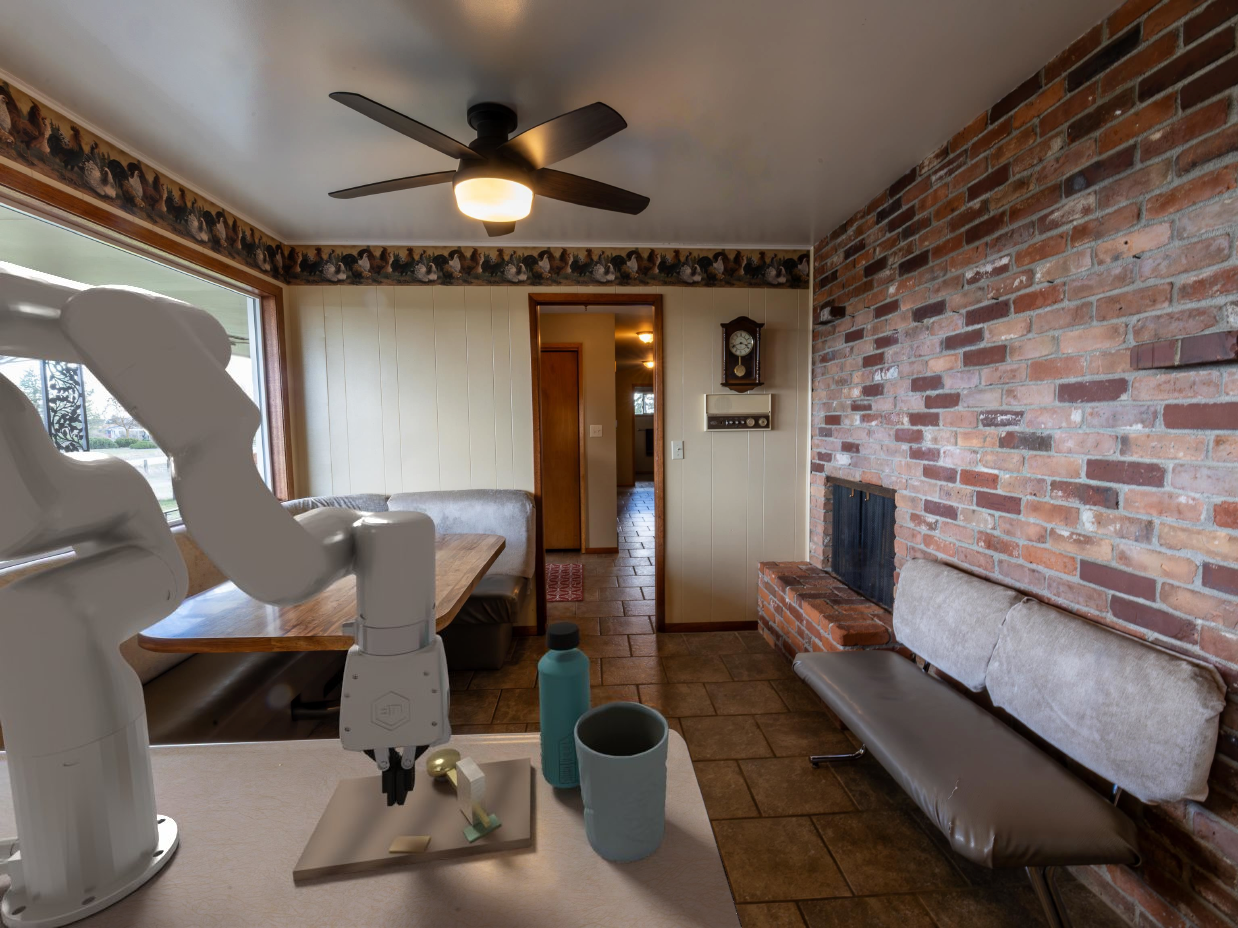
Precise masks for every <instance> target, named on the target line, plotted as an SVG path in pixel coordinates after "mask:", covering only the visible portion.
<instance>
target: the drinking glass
mask: <svg viewBox="0 0 1238 928" xmlns="http://www.w3.org/2000/svg"><path fill="white" fill-rule="evenodd" d="M669 732H670V728H669V724H668V721H667V720H666V717H664V716H663V714H661V713H660V712H659V711H657V710H656V709H654V708H652V707H650V706H648V705H645V704H641V703H639V702H634V701H613V702H607V703H602V704H600V705H597V706H594V707H591V709H590V710H589V711H587V712H586V713H584V714H583V715H582V716H581V717H580V718H579V720H578V721H577V723H576V725H575V729H574V736H575V744H576V752H577V758H578V762H579V772H580V785H579V787H580V789H581V790H580V791H581V792H580V793H581V799H582V804H583V807H584V810H583V818H584V819H583V820H584V826H585V827H584V828H585V834H586V837H587V841H588V843H589V845H590V847H591V848H592V849H593V850H594V852H596V853H597V854H598V856H600V857H601V858H603V859H606V860H609V861H611V862H615V863H625V864H627V863H633V862H637V861H640V860H643V859H644V858H648V857H649V856H651V855H652V854H653V853H655V852H656V850H658V848H659V847H660V845H661V843H662V841H663V838H664V834H665V821H666V798H667V780H668V774H667V773H668V767H667V765H666V763H667V760H668V751H669V750H668V749H669V735H670V734H669Z"/></svg>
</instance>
